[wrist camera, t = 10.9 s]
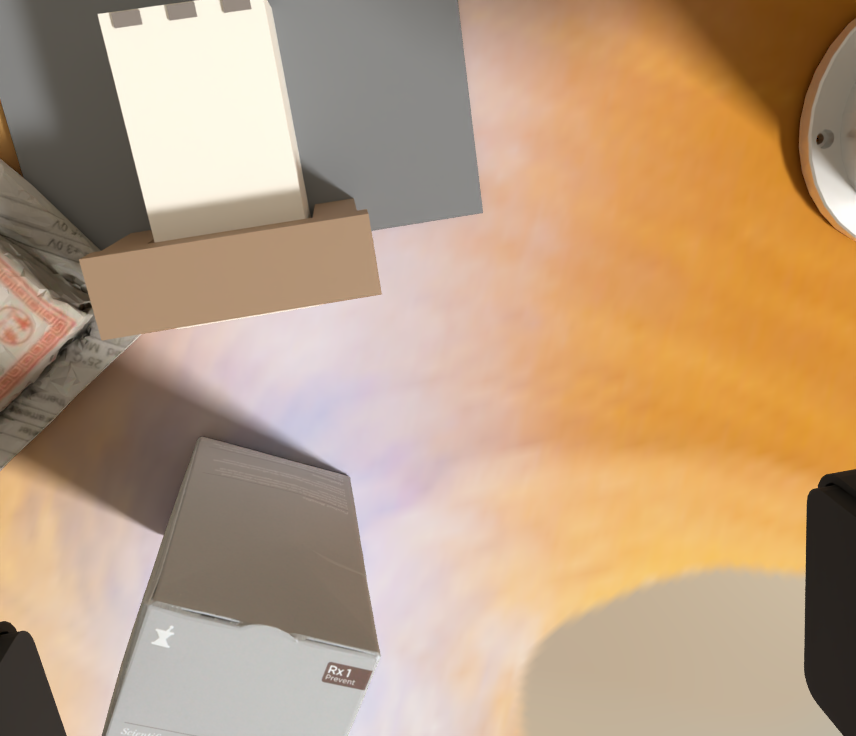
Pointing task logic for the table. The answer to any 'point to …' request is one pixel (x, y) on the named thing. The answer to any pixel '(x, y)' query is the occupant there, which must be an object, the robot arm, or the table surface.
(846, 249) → the table surface
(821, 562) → the robot arm
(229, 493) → the skincare box
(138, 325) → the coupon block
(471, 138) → the mat
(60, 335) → the packaged product
